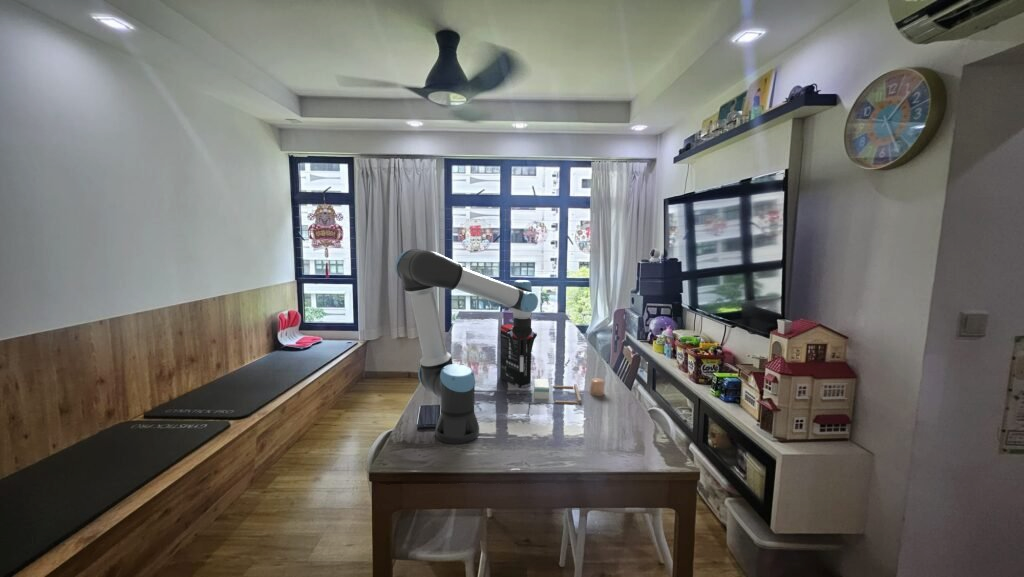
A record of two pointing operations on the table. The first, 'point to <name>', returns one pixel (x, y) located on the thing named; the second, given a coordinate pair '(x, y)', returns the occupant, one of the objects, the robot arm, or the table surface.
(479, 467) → the table surface
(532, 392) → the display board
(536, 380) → the carton
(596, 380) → the wooden block
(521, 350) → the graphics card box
